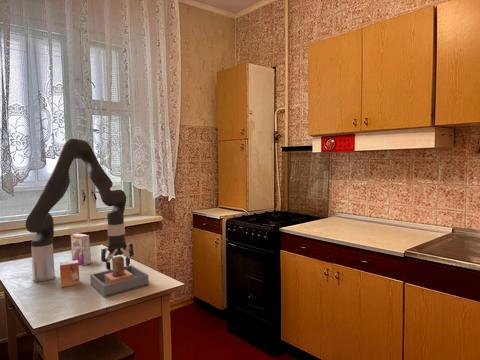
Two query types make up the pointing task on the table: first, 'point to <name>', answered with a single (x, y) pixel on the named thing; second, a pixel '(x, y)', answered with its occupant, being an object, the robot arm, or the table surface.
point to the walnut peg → (118, 266)
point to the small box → (69, 273)
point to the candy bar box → (81, 248)
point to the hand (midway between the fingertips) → (118, 267)
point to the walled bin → (118, 281)
